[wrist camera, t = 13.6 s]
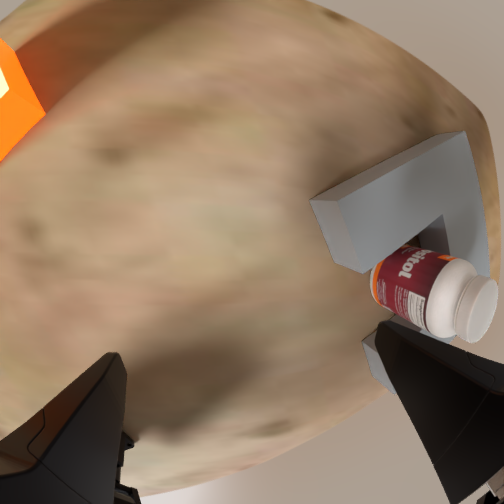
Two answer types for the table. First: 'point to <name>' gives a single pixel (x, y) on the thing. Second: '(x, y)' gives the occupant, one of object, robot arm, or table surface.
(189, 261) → the table surface
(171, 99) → the table surface
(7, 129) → the orange juice
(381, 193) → the notched board
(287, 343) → the table surface
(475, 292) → the pill bottle
